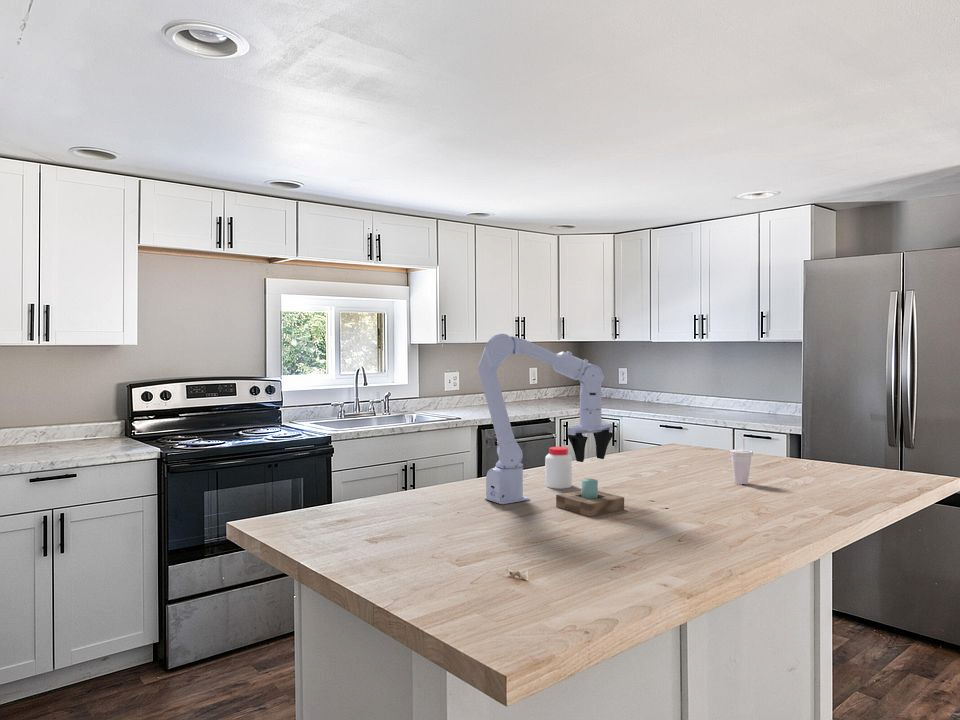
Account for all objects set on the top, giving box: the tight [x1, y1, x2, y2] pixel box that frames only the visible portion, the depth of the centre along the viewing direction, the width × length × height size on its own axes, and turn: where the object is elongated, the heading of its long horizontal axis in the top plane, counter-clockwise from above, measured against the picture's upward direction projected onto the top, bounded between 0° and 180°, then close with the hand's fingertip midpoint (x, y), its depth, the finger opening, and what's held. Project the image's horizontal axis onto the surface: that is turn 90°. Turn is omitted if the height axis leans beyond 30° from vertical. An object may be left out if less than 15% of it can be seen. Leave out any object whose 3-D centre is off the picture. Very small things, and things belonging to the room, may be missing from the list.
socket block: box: [555, 489, 625, 517], centre depth 169 cm, size 12×12×3 cm
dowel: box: [581, 478, 599, 500], centre depth 169 cm, size 4×4×7 cm
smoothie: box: [729, 435, 754, 486], centre depth 198 cm, size 6×6×14 cm
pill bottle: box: [544, 446, 573, 490], centre depth 195 cm, size 8×8×11 cm
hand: (590, 460), depth 179 cm, fingers open, 7 cm apart
